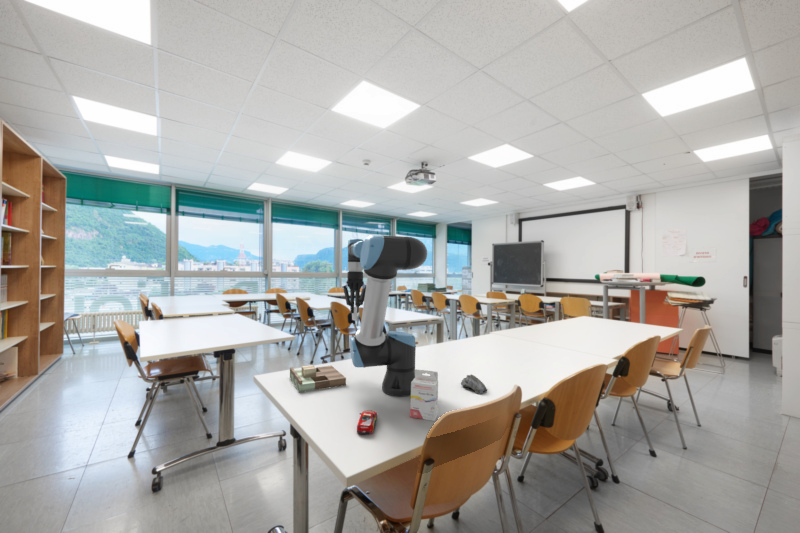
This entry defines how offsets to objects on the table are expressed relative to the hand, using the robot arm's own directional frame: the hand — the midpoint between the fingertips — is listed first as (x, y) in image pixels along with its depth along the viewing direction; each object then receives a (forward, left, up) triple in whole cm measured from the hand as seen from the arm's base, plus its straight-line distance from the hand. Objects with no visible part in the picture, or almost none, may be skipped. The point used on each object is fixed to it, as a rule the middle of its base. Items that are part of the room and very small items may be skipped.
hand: (354, 319), depth 158 cm
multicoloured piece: (-7, +20, -24) cm, 32 cm away
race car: (-54, +16, -25) cm, 62 cm away
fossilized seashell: (-44, -36, -25) cm, 62 cm away
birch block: (-7, +23, -21) cm, 32 cm away
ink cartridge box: (-57, -3, -25) cm, 62 cm away
